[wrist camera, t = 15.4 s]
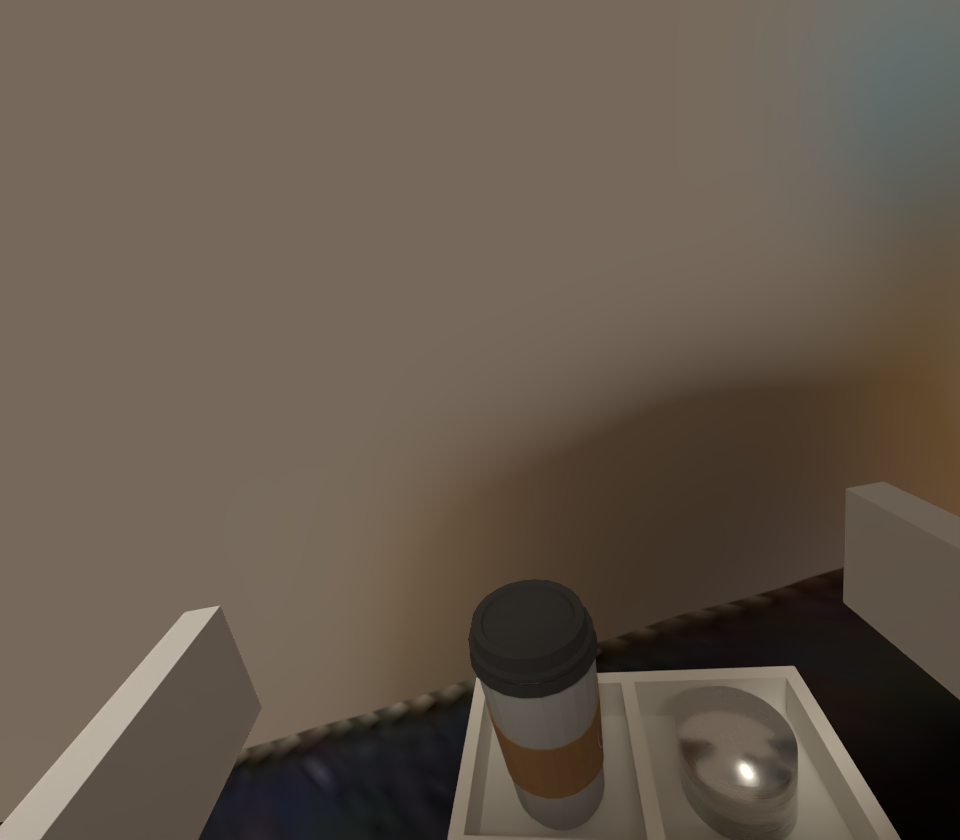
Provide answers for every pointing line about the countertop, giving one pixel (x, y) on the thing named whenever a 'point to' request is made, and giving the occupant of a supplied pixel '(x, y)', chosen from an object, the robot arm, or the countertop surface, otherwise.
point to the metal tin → (738, 763)
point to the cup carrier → (668, 766)
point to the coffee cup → (543, 697)
